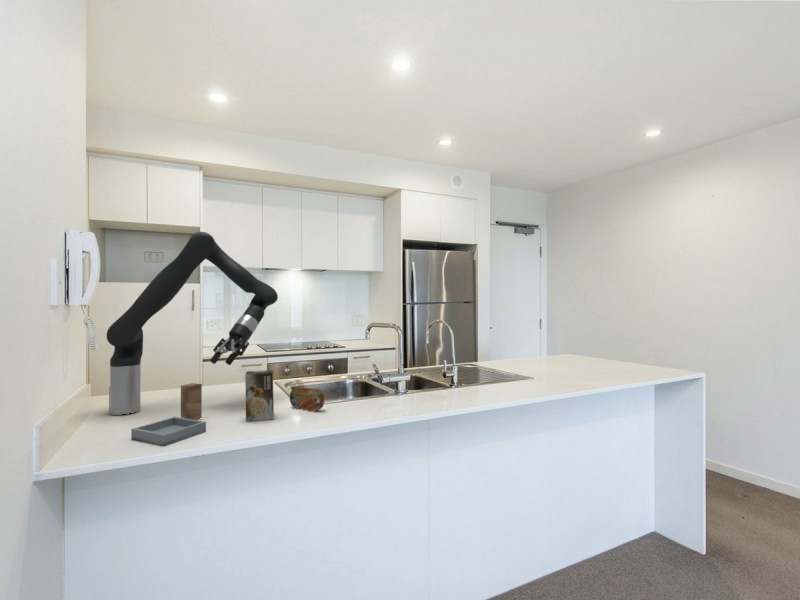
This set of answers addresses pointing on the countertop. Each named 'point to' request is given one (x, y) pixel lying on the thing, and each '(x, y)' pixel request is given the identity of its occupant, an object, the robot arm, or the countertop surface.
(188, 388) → the walnut block
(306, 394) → the tin
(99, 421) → the countertop surface
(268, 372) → the coffee box
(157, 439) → the tray
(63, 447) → the countertop surface
